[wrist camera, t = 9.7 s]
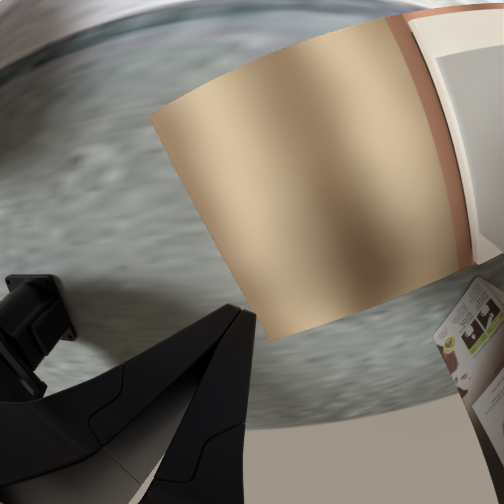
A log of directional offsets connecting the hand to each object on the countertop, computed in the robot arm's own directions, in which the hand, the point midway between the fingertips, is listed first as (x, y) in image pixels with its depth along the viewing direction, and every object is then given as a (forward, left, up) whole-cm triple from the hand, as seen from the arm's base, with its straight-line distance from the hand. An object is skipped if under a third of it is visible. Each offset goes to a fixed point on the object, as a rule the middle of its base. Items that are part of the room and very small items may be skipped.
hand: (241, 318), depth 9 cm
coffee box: (+18, -10, -11) cm, 23 cm away
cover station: (+9, +3, -10) cm, 14 cm away
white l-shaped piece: (+15, +6, -7) cm, 18 cm away
